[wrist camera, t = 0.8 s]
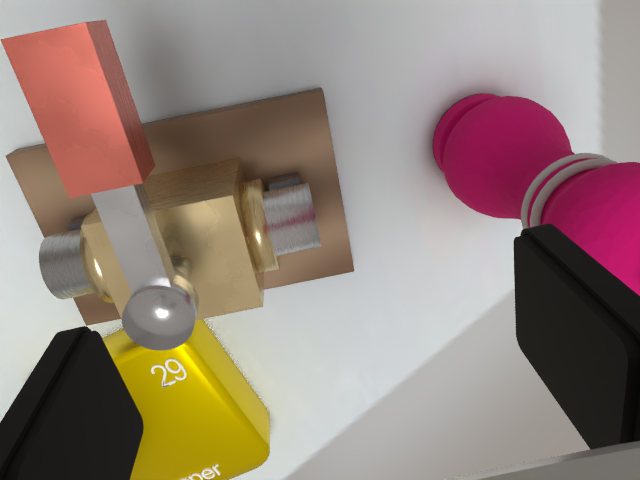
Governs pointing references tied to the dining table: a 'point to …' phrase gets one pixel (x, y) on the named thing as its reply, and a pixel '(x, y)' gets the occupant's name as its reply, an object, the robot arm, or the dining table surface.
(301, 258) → the valve board
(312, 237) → the ball valve
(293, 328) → the dining table surface
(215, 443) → the element tile
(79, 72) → the valve lever
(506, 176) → the pepper mill
